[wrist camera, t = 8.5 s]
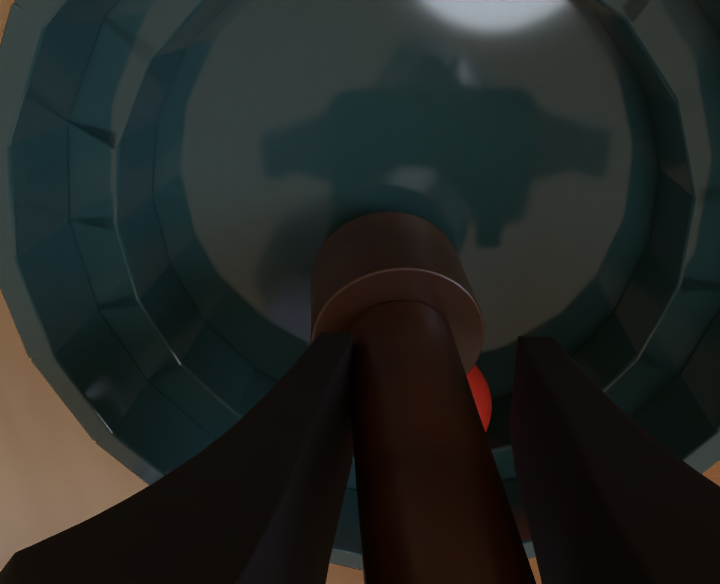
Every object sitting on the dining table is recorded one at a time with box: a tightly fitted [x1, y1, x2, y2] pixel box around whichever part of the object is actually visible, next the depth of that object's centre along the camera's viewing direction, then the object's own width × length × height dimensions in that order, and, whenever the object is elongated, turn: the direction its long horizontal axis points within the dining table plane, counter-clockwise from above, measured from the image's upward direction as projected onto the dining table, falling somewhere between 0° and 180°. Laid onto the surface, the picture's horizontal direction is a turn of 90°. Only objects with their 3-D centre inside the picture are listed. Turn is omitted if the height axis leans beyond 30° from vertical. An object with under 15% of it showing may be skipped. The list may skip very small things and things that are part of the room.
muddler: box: [311, 212, 536, 584], centre depth 10 cm, size 4×4×11 cm
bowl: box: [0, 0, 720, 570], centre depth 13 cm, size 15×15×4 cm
